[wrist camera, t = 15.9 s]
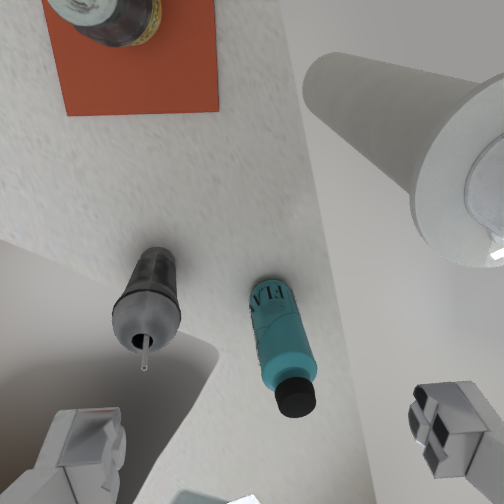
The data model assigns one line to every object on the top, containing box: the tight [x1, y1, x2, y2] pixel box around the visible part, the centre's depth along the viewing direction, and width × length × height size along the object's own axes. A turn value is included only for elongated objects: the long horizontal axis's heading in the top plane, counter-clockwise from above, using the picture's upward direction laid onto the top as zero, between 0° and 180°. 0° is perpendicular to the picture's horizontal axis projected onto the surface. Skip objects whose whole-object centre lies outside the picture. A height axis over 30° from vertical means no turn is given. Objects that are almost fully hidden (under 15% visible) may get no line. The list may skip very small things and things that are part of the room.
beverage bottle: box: [249, 280, 317, 418], centre depth 50 cm, size 6×7×20 cm
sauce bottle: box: [47, 0, 162, 47], centre depth 30 cm, size 7×6×20 cm
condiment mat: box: [42, 0, 219, 116], centre depth 39 cm, size 16×20×1 cm
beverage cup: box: [112, 247, 181, 371], centre depth 45 cm, size 7×7×20 cm
